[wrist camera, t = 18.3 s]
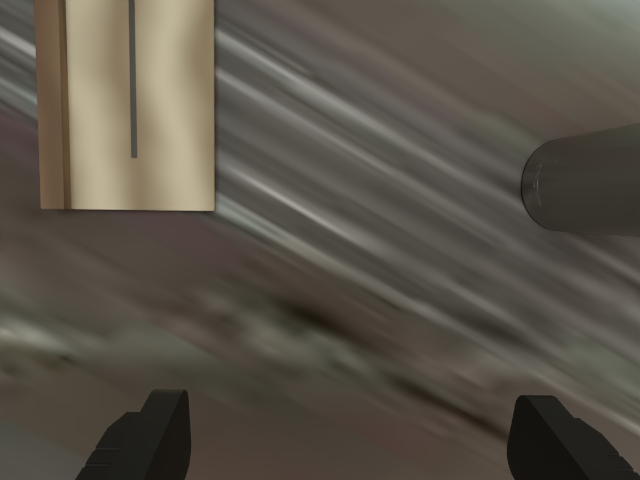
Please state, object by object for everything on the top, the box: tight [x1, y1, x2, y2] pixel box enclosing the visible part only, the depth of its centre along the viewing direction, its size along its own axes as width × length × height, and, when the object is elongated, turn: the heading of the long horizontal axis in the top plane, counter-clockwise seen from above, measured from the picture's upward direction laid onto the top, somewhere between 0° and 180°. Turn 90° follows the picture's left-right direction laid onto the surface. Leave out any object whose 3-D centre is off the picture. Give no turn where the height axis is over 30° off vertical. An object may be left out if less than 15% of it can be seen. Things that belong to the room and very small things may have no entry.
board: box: [34, 0, 215, 211], centre depth 32 cm, size 12×30×4 cm, turn 179°
